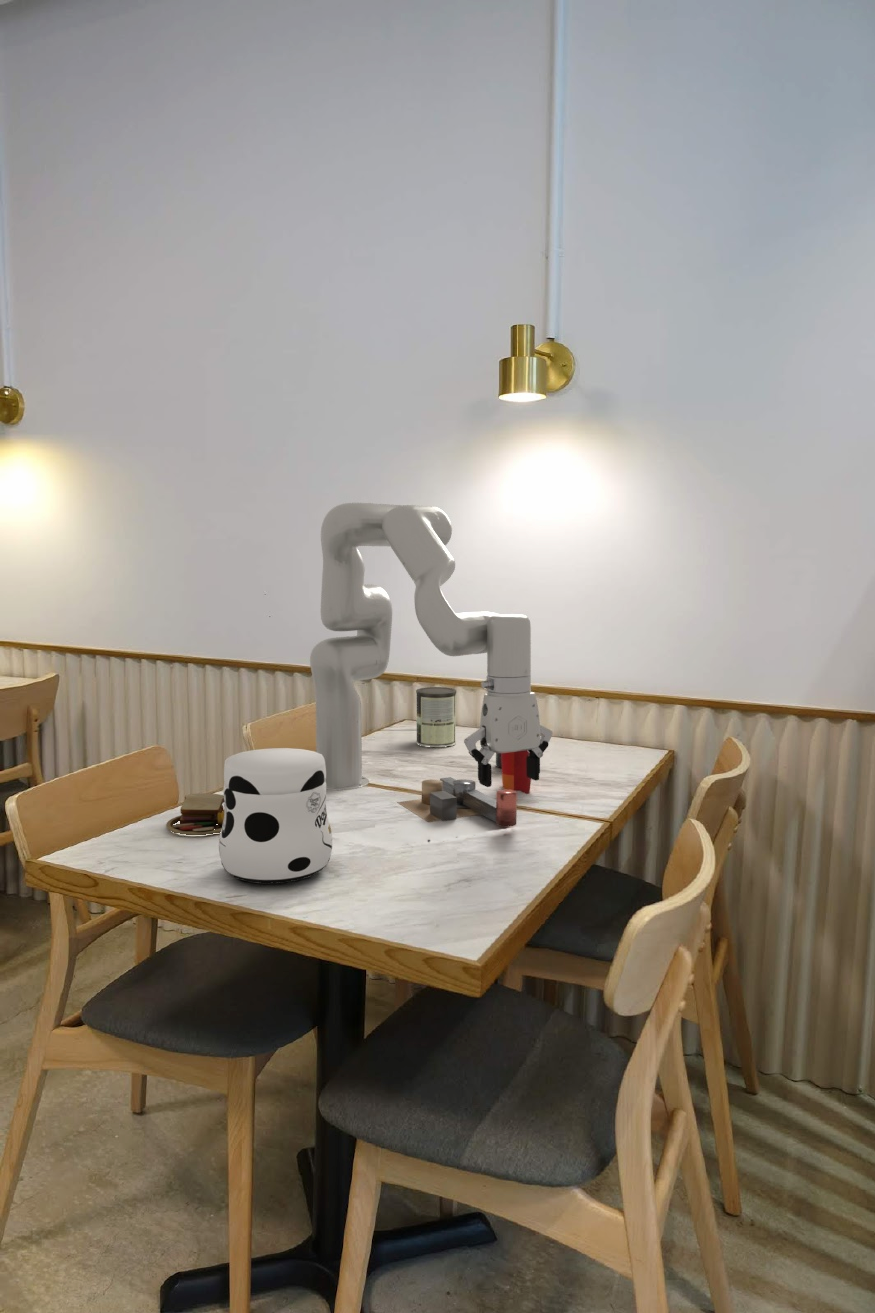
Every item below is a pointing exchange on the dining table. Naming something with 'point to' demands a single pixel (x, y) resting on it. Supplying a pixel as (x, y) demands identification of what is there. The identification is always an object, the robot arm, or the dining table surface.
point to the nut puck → (430, 789)
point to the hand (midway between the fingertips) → (509, 781)
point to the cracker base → (426, 810)
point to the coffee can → (436, 716)
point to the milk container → (275, 815)
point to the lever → (484, 800)
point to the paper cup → (515, 771)
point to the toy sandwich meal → (199, 815)
